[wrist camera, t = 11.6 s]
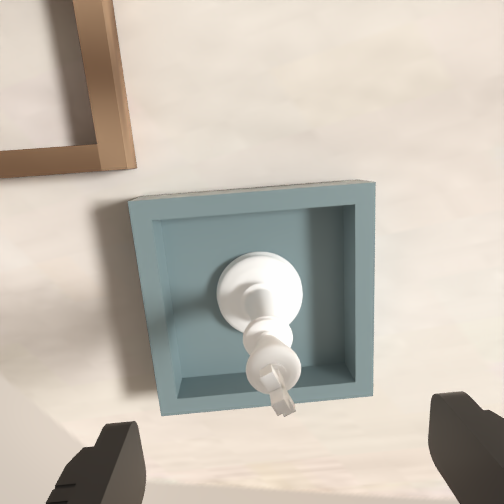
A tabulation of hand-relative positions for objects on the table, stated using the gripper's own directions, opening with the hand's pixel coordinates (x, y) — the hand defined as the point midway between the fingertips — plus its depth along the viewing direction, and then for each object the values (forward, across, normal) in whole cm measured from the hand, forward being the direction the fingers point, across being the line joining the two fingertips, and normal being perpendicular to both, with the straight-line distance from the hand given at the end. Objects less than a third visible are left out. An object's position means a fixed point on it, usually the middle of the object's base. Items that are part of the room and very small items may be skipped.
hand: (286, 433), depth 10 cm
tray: (+12, 0, 0) cm, 12 cm away
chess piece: (+12, 0, 0) cm, 12 cm away
